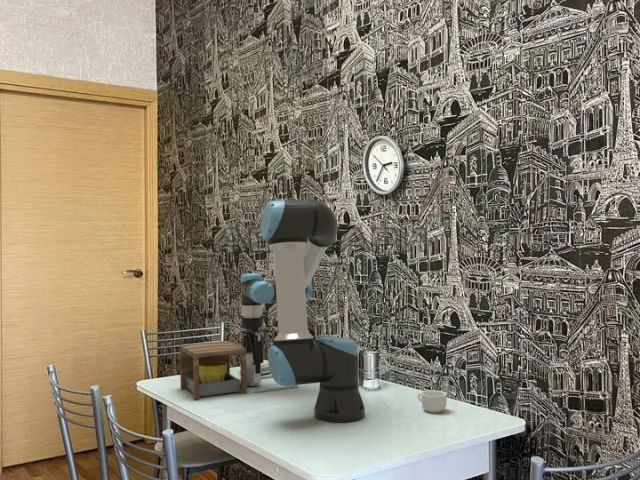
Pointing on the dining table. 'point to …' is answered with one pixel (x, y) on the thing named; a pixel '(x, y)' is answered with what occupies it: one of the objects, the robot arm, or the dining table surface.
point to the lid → (264, 367)
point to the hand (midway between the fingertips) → (253, 380)
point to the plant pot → (212, 371)
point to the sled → (229, 381)
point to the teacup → (433, 400)
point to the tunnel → (209, 352)
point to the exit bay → (273, 388)
